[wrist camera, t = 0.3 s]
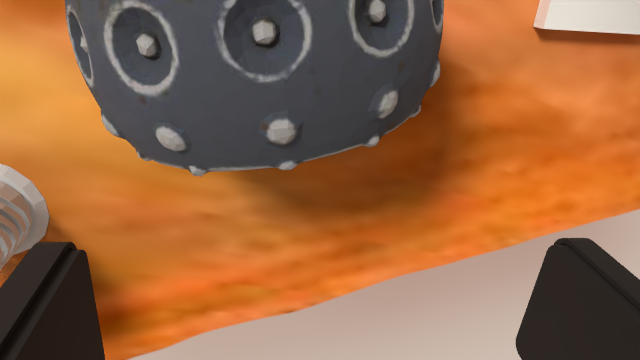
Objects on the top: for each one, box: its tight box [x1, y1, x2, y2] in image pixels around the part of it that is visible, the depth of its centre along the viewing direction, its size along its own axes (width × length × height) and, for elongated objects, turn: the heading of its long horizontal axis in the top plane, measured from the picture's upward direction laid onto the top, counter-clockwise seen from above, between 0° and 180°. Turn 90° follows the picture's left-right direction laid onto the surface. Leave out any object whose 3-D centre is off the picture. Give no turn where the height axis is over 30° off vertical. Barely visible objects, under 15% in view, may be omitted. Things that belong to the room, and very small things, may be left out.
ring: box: [65, 0, 444, 176], centre depth 26 cm, size 11×20×20 cm, turn 97°
